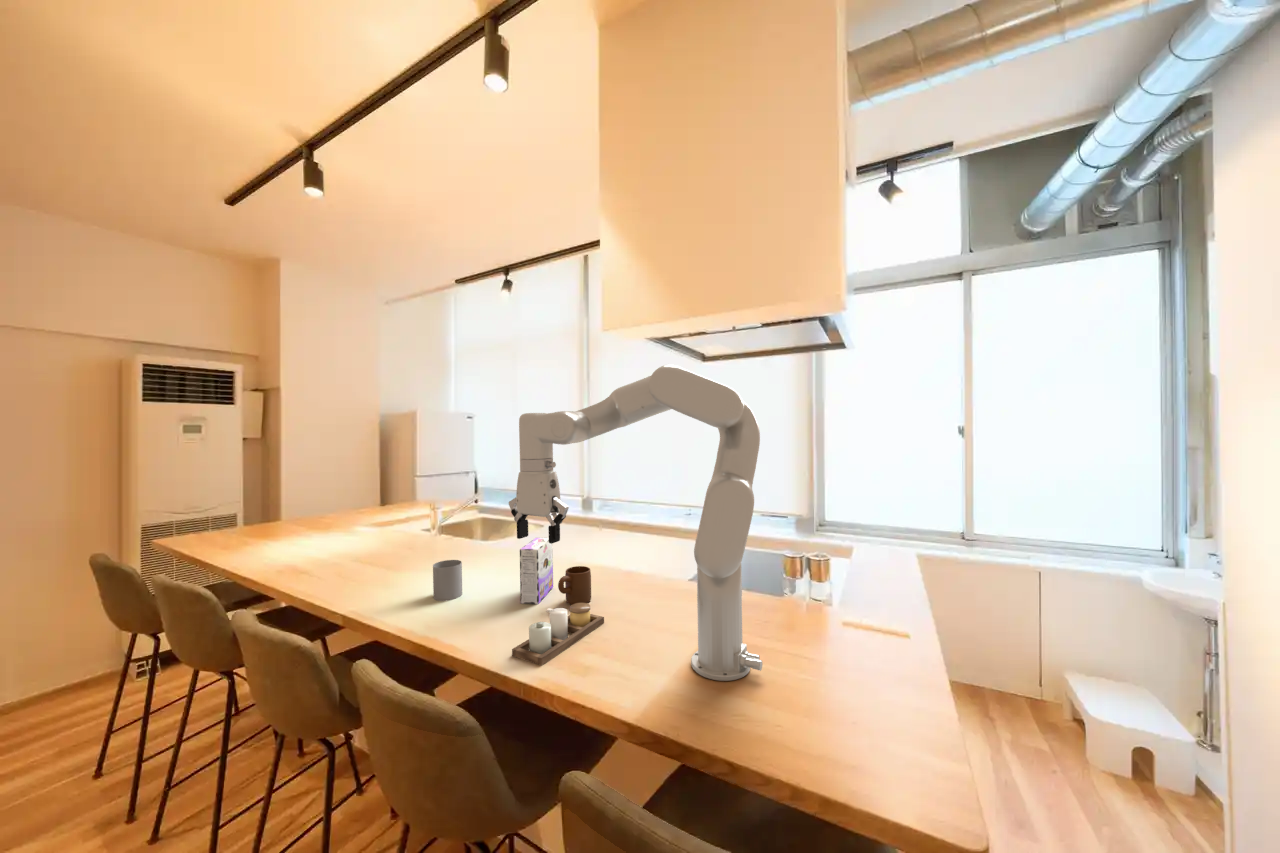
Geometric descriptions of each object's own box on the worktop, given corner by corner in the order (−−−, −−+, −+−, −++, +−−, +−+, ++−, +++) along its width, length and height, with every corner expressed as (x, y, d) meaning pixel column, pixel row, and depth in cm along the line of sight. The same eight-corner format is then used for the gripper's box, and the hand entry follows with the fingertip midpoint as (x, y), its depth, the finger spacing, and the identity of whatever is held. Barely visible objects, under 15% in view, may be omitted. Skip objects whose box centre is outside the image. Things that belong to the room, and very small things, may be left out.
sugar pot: (555, 650, 109) (555, 621, 109) (541, 659, 105) (540, 629, 105) (539, 645, 112) (539, 617, 112) (524, 654, 107) (524, 625, 107)
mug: (569, 613, 130) (568, 580, 130) (549, 608, 134) (549, 575, 134) (596, 599, 140) (596, 568, 140) (577, 594, 144) (576, 564, 144)
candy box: (536, 587, 151) (535, 536, 151) (553, 587, 150) (552, 537, 150) (519, 603, 137) (518, 548, 137) (538, 604, 137) (537, 548, 136)
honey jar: (594, 624, 123) (594, 604, 123) (582, 632, 118) (582, 612, 118) (578, 620, 125) (578, 601, 125) (565, 628, 121) (565, 608, 121)
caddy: (604, 622, 123) (604, 616, 123) (541, 665, 102) (541, 658, 102) (577, 616, 128) (577, 610, 128) (512, 655, 107) (512, 649, 107)
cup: (455, 600, 141) (454, 567, 141) (428, 601, 141) (427, 568, 141) (466, 590, 149) (465, 559, 149) (440, 590, 149) (440, 559, 149)
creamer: (571, 636, 116) (571, 610, 116) (559, 643, 112) (559, 616, 112) (554, 631, 119) (553, 605, 119) (542, 638, 115) (541, 611, 115)
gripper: (576, 465, 107) (578, 540, 107) (520, 463, 115) (522, 532, 115) (555, 469, 100) (556, 548, 100) (497, 466, 109) (499, 539, 109)
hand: (538, 539), depth 108 cm, fingers open, 9 cm apart
